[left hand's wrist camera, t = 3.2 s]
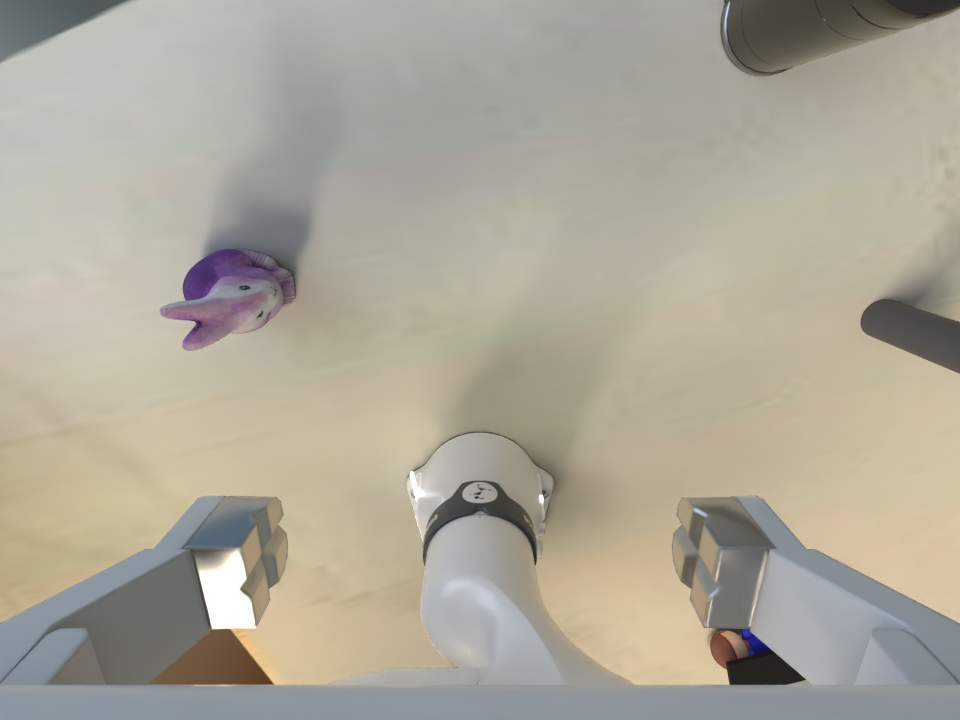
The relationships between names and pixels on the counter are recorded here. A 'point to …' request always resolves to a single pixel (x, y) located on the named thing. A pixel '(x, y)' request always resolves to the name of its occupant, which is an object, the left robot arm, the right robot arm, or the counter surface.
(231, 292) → the figurine
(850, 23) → the right robot arm
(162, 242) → the counter surface
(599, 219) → the counter surface
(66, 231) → the counter surface
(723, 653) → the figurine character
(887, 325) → the jar
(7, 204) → the counter surface
